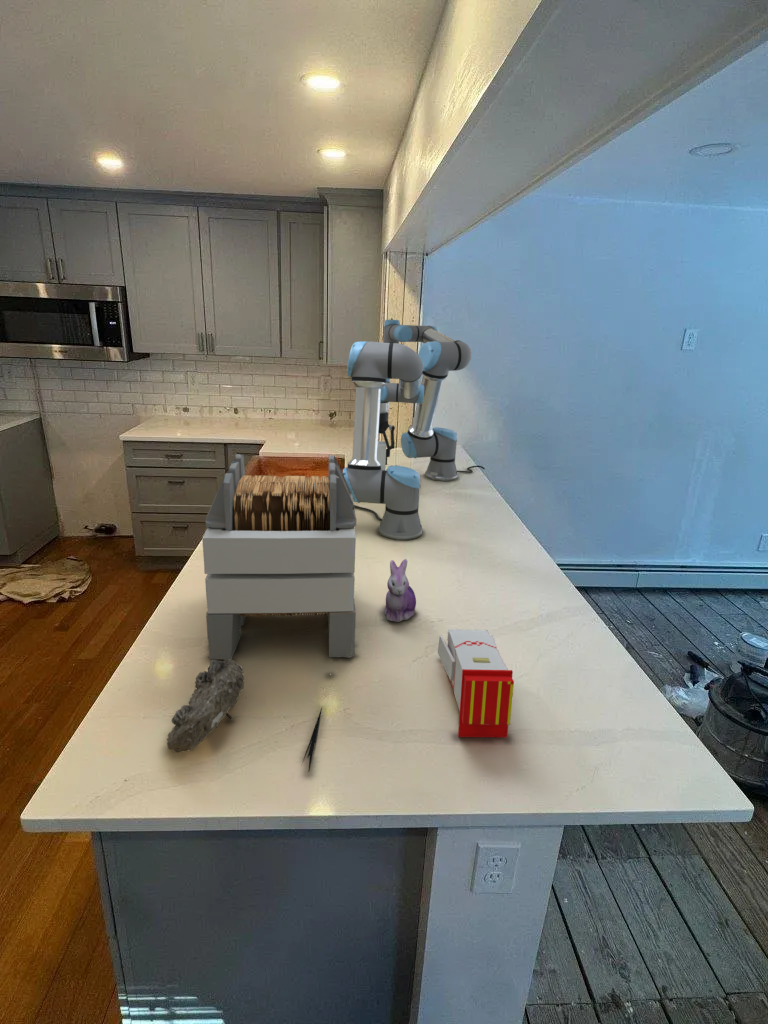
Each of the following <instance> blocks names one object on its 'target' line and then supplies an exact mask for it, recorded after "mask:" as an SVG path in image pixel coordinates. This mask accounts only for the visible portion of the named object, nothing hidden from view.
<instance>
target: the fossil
mask: <svg viewBox="0 0 768 1024" xmlns="http://www.w3.org/2000/svg"><path fill="white" fill-rule="evenodd" d="M243 670H244V669H243V667H242V665H240V664H237V662H236V661H235V660H234V659H233V658H232V659H223V661H222V660H218V659H214V660H210V663H209V665H208V666H207V671H201V672H199V673H198V674H197V675H196V676H195V680H194V684H195V685H194V687H195V689H194V690H193V693H192V694H191V697H190V698H189V700H188V704H184V705H182V706H181V707H180V709H177V710H176V711H175V713H174V715H173V716H172V718H171V723H172V724H173V727H172V730H171V731H170V732H168V734H167V738H166V741H167V742H166V745H167V749H168V750H169V751H173V752H174V753H176V754H178V753H182V752H188V751H189V752H192V751H193V750H195V748H196V747H197V746H199V744H200V743H201V742H203V741H204V740H205V739H206V738H207V737H208V736H209V735H210V734H211V733H212V732H214V730H215V729H217V727H218V726H219V724H220V722H221V721H222V720H223V719H224V718H225V716H226V717H227V719H229V720H233V717H232V715H230V714H229V710H230V709H231V708H234V706H235V704H236V703H237V702H238V699H239V697H240V695H241V693H242V691H243V690H245V689H244V688H245V675H244V671H243Z"/></svg>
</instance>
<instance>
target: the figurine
mask: <svg viewBox="0 0 768 1024" xmlns="http://www.w3.org/2000/svg"><path fill="white" fill-rule="evenodd" d="M407 567H408V559H406V558H404V559H403V560H402V561H401V563H400V565H399V566H398V565H397V563H396V562H395V561H394V560H393V559H391V560H390V561H389V570H390V576H389V578H388V579H387V589H388V591H387V592H386V594H385V595H386V596H385V607H384V615H385V616H386V620H387V621H391V622H395V623H400V622H402V621H406V620H409V619H410V618H411V617H413V616H414V615H415V610H416V606H417V597H416V593H415V591H414V590H413V587H411V586H410V582H409V579H408V577H407V574H406V571H407Z"/></svg>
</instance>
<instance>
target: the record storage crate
mask: <svg viewBox="0 0 768 1024" xmlns="http://www.w3.org/2000/svg"><path fill="white" fill-rule="evenodd" d="M244 455H245V454H239V453H236V454H235V456H234V458H233V461H231V462H230V465H229V467H228V470H227V471H226V473H224V476H223V478H222V480H221V483H220V486H219V487H218V489H217V491H216V494H215V496H214V498H213V501H212V503H211V504H210V506H209V507H210V508H209V509H208V511H207V514H206V516H205V519H204V523H205V527H206V529H205V532H204V533H203V535H202V538H201V540H202V553H203V554H202V556H203V566H204V567H203V568H204V574H205V575H206V577H205V579H204V580H205V581H204V583H205V597H206V609H207V611H206V613H205V620H206V621H205V622H206V634H207V636H206V637H207V642H208V643H207V644H208V655H209V656H208V660H209V661H212V660H227V659H228V660H231V659H232V660H233V656H234V654H235V651H236V650H237V647H238V643H239V642H240V639H241V635H242V627H243V626H244V624H245V620H246V617H265V616H267V617H271V616H274V617H276V616H277V617H279V616H281V617H282V616H284V617H286V616H322V615H325V616H326V615H327V625H328V629H327V630H328V632H327V634H328V635H327V636H328V658H347V659H349V658H352V657H354V656H355V655H356V622H357V620H356V616H357V615H356V614H357V612H356V603H355V582H356V581H355V578H356V577H355V570H356V567H355V566H356V544H357V543H356V540H357V536H356V530H355V527H356V526H357V515H356V509H355V507H354V505H355V502H353V498H352V493H351V490H350V488H349V486H348V484H347V482H346V480H345V477H344V475H343V470H342V469H341V466H340V465H339V462H338V460H337V458H336V456H335V455H333V454H328V476H326V475H322V476H319V475H311V477H310V476H306V475H283V477H282V476H280V475H279V476H278V475H251V474H250V475H247V474H246V471H245V468H246V467H245V456H244Z"/></svg>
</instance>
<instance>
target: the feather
mask: <svg viewBox="0 0 768 1024" xmlns="http://www.w3.org/2000/svg"><path fill="white" fill-rule="evenodd" d="M329 675H330V676H331V675H332V674H331V673H330V674H329ZM322 710H323V707H321V708H320V710H319V713H318V716H317V719H316V723H315V725H314V728H313V731H312V733H311V737H310V739H309V742H308V745H307V748H306V751H305V754H304V757H303V760H302V763H301V767H302V765H303V763H304V761H305V758H308V759H309V760H308V762H307V763H308V764H307V766H308V771H310V770H311V766H312V765H311V764H312V760H313V757H315V756H314V755H315V751H316V749H315V746H317V739H318V733H319V729H320V722H321V717H322V712H323V711H322ZM313 754H314V755H313ZM306 755H307V757H306Z"/></svg>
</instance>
